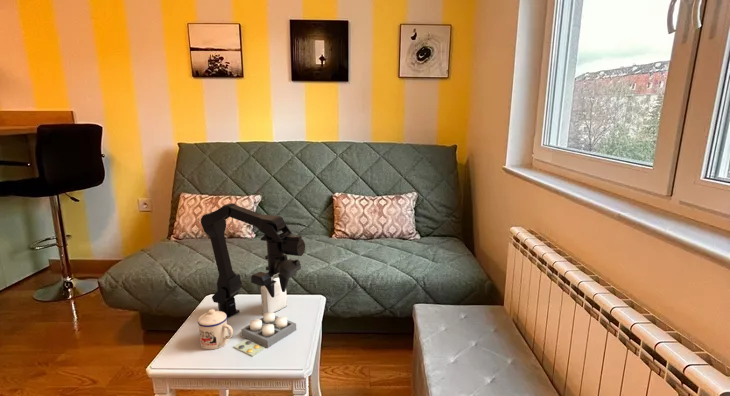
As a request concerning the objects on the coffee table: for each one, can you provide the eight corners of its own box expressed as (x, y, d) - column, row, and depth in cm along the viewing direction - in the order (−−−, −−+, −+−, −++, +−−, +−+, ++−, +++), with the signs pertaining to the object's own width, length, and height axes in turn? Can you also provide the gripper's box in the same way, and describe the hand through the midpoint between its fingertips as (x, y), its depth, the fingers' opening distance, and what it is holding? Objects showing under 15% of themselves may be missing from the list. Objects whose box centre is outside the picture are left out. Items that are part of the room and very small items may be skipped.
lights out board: (227, 344, 133) (226, 337, 132) (270, 319, 148) (270, 313, 148) (253, 357, 126) (253, 349, 125) (296, 329, 141) (296, 323, 140)
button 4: (273, 327, 139) (272, 320, 139) (281, 322, 142) (281, 315, 142) (281, 330, 137) (281, 323, 136) (289, 325, 140) (289, 318, 140)
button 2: (259, 335, 134) (259, 327, 134) (268, 329, 137) (268, 322, 137) (268, 338, 132) (267, 331, 131) (277, 333, 135) (276, 326, 135)
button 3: (261, 322, 142) (260, 315, 142) (269, 317, 146) (269, 311, 145) (269, 325, 140) (268, 318, 140) (277, 320, 143) (277, 313, 143)
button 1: (247, 329, 138) (247, 322, 137) (256, 324, 141) (256, 318, 140) (255, 333, 135) (255, 326, 135) (264, 328, 139) (264, 321, 138)
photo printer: (267, 316, 151) (265, 285, 148) (260, 313, 153) (258, 282, 151) (289, 306, 158) (287, 276, 156) (281, 303, 161) (280, 274, 158)
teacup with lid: (193, 347, 131) (190, 314, 129) (212, 333, 140) (209, 302, 137) (224, 354, 127) (221, 320, 125) (242, 339, 136) (239, 307, 133)
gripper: (271, 265, 128) (274, 311, 132) (311, 249, 143) (312, 290, 147) (248, 259, 135) (251, 302, 138) (288, 244, 150) (290, 283, 153)
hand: (278, 294), depth 144 cm, fingers open, 5 cm apart
